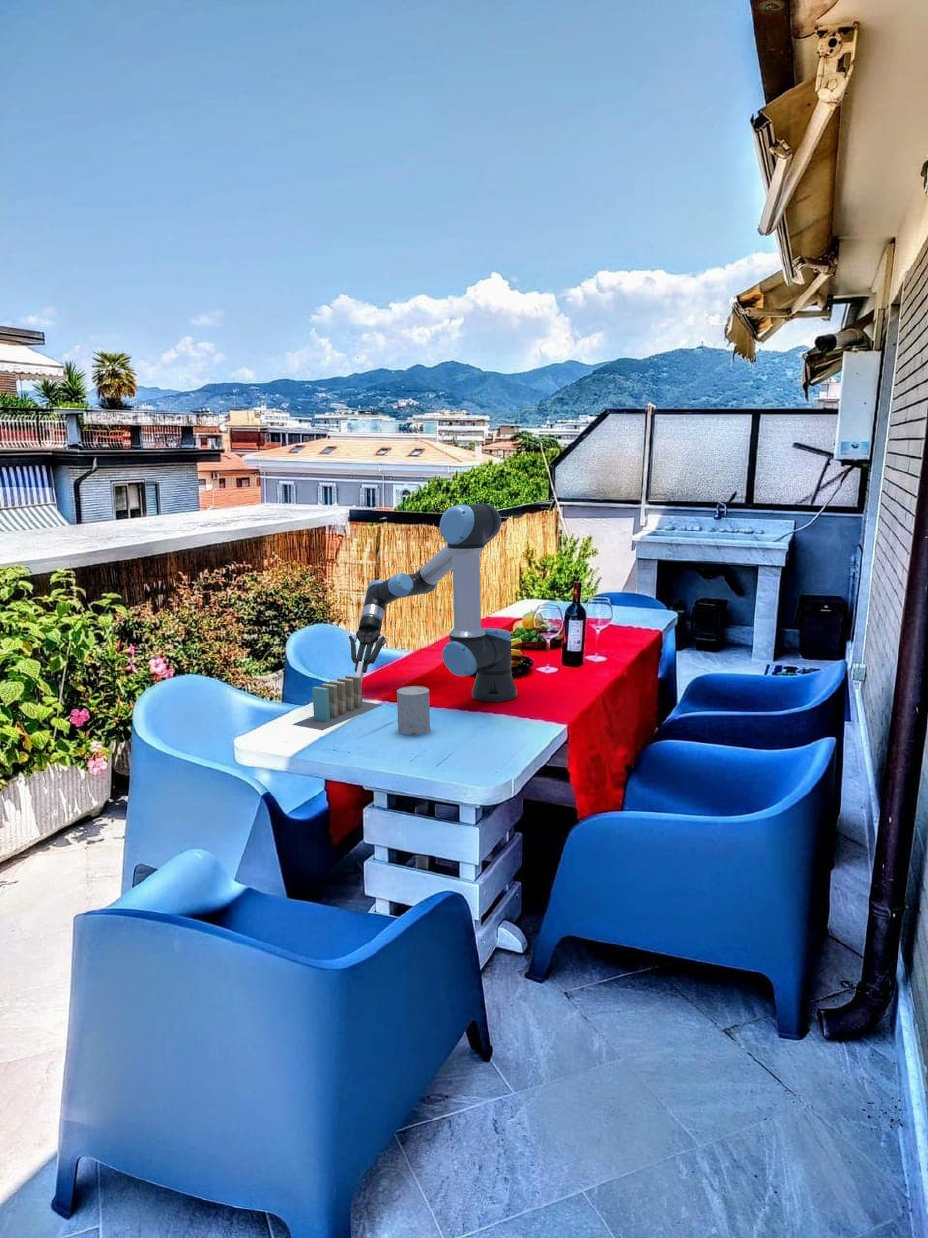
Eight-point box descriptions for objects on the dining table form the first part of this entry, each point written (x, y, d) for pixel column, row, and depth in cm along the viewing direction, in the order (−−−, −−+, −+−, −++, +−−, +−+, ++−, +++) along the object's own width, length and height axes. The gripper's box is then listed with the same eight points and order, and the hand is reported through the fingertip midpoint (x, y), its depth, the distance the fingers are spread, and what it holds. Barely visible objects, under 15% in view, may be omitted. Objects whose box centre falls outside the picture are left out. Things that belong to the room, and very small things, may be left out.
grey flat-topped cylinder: (418, 737, 246) (416, 696, 243) (391, 732, 250) (390, 692, 248) (436, 728, 253) (435, 688, 251) (410, 724, 258) (409, 684, 256)
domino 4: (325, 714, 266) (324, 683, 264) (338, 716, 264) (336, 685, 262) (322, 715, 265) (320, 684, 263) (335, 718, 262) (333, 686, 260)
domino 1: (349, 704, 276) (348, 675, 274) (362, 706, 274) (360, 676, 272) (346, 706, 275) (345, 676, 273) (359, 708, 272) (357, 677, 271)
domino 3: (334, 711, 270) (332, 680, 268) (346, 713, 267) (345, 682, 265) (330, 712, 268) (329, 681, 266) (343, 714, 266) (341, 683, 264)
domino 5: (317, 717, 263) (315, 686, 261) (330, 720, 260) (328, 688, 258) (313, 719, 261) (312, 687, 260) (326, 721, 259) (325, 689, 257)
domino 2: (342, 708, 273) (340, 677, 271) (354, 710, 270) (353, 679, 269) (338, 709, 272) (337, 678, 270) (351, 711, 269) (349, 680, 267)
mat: (353, 702, 282) (353, 700, 282) (383, 707, 276) (383, 704, 276) (291, 727, 257) (291, 724, 257) (322, 733, 251) (322, 730, 251)
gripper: (392, 627, 293) (380, 687, 280) (356, 626, 296) (342, 685, 282) (387, 614, 287) (374, 675, 274) (350, 614, 289) (336, 674, 276)
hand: (358, 680), depth 278 cm, fingers closed
